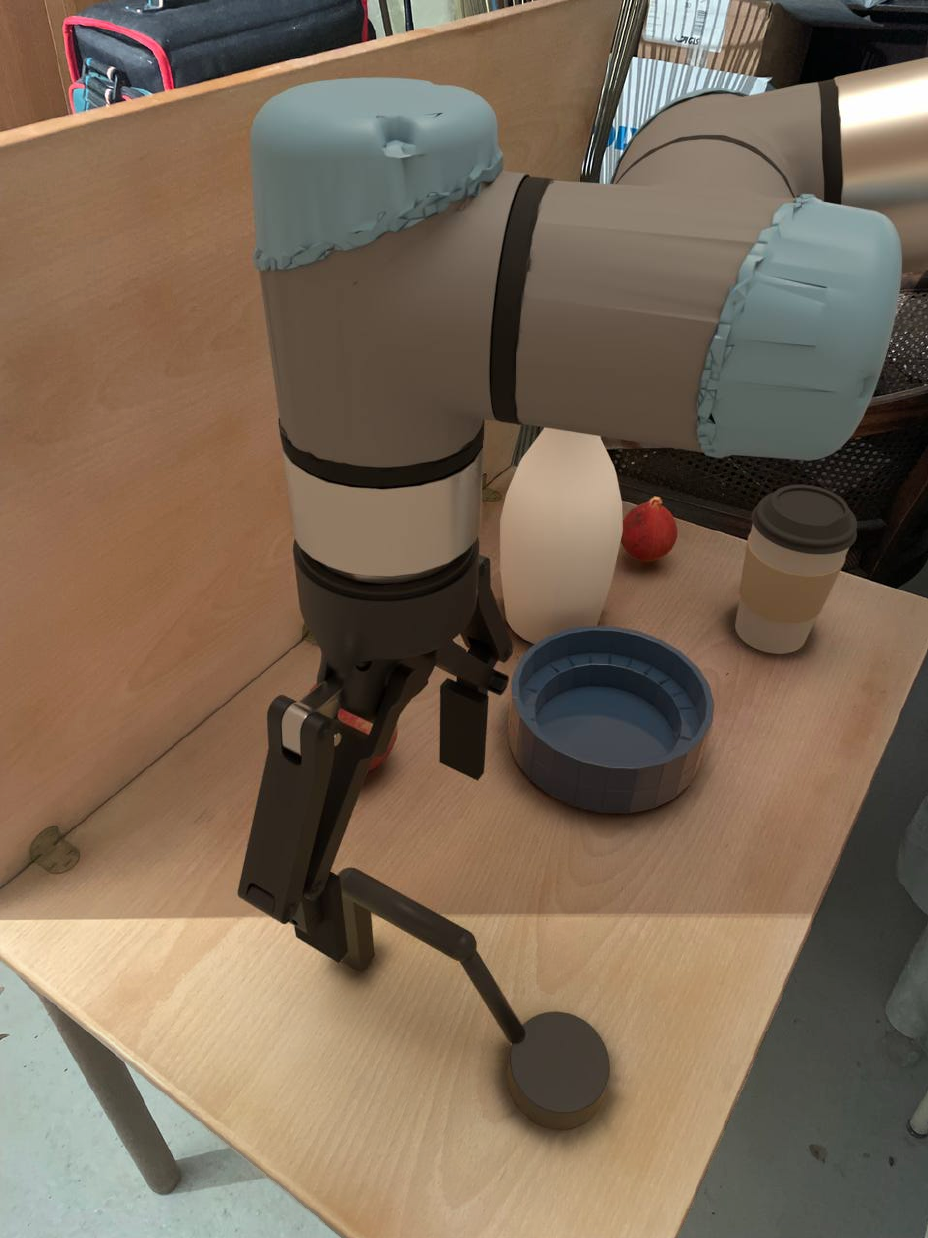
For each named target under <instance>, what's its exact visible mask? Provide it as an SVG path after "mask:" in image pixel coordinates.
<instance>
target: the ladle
mask: <svg viewBox="0 0 928 1238" xmlns="http://www.w3.org/2000/svg"><path fill="white" fill-rule="evenodd" d="M337 875H338V876H340V883H341V892H342V901H343V910H344V919H345V928H346V937H347V946H348V952H347V954H346V955H345V956H344V958H343V959H342V960H341V962H342V963H343V964H345V965H346V966H348V967H350V968H352V969H353V970H354V971H357V972H358V973H360V974H362V973H363V972H364V971H365V969H366V968H367V966H368V965H369V964H370V963H371V961H372V960H373V958H374V957H375V956H376V951H375V940H374V929H373V920H372V918H373V917H372V914H374V915H375V916H377V917H379V918H380V919H382V920H384V921H386V922H387V923H389V924H391V925H393V927H396V928H398V929H400V930H401V931H403V932H405V933H407V934H408V935H410V936H411V937H413V938H414V939H417V940H418V941H420V942H422V943H424V944H426V945H427V946H429V947H431V948H433V949H434V950H436V951H438V952H440V953H441V954H443V955H445V956H447V957H448V958H449V959H452V960H454V961H456V962H459V964H460V966H461V967H462V969H463V971H464V972H465V973H466V975H467V977H468V979H469V980H470V981H471V983H472V985H473V986H474V988H475V990H476V991H477V993H478V994H479V996H480V997H481V999H482V1001H483V1003H484V1004H485V1006H486V1007H487V1009H488V1011H489V1012H490V1014H491V1015H492V1017H493V1019H494V1020H495V1022H496V1024H497V1025H498V1027H499V1029H501V1032H502V1033H503V1035H504V1037H505V1038H506V1040H507V1041H508V1042H509V1043H510V1050H509V1056H508V1057H509V1058H508V1064H507V1065H508V1066H507V1082H508V1087H509V1091H510V1094H511V1096H512V1098H513V1100H514V1102H515V1104H516V1106H517V1107H518V1108H519V1110H521V1112H522V1113H523V1114H524V1115H525V1116H526V1117H527V1118H529V1119H530V1120H531V1121H533V1122H535V1123H536V1124H538V1125H539V1126H543V1127H546V1128H549V1129H555V1130H567V1129H568V1130H569V1129H572V1128H576V1127H578V1126H580V1125H582V1124H584V1123H586V1122H588V1121H589V1120H590V1119H591V1118H592V1117H593V1116H594V1115H595V1114H596V1112H597V1111H598V1109H599V1108H600V1107H601V1104H602V1102H603V1099H604V1096H605V1093H606V1089H607V1086H608V1083H609V1078H610V1070H611V1065H610V1064H611V1063H610V1056H609V1052H608V1049H607V1046H606V1045H605V1042H604V1040H603V1038H602V1037H601V1035H600V1034H599V1032H597V1030H596V1029H595V1028H594V1027H593V1026H592V1025H591V1024H590V1023H588V1022H587V1021H586V1020H584V1019H583V1018H581V1017H579V1016H577V1015H574V1014H572V1013H568V1012H564V1011H547V1012H543V1013H539V1014H536V1015H535V1016H533V1017H531V1018H529V1019H528V1020H527V1021H525V1022H524V1023H523V1024H522V1023H521V1021H520V1019H519V1018H518V1016H517V1014H516V1013H515V1011H514V1009H513V1008H512V1006H511V1004H510V1003H509V1001H508V1000H507V998H506V997H505V994H504V993H503V991H502V989H501V988H500V986H499V984H498V983H497V981H496V979H495V978H494V976H493V975H492V973H491V972H490V970H489V968H488V966H487V964H486V963H485V961H484V960H483V958H482V956H481V955H480V953H479V951H478V950H477V949H478V942H477V939H476V936H475V935H474V934H473V933H472V932H471V931H470V930H468V929H467V928H464V927H463V926H461V925H459V924H458V923H456V922H454V921H452V920H450V919H448V918H447V917H444V916H443V915H441V914H440V913H438V912H436V911H434V910H432V909H430V908H428V907H427V906H425V905H423V904H421V903H419V902H418V901H416V900H414V899H413V898H410V897H409V896H407V895H405V894H403V893H401V892H400V891H398V890H396V889H394V888H393V887H391V886H389V885H387V884H385V883H383V882H381V881H379V879H376V878H375V877H373V876H371V875H369V874H367V873H365V871H362V870H360V869H358V868H356V867H353V866H351V867H350V866H349V867H345V868H343V869H342V870H341V871H339V873H338V874H337Z"/></svg>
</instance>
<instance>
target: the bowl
mask: <svg viewBox="0 0 928 1238" xmlns="http://www.w3.org/2000/svg"><path fill="white" fill-rule="evenodd" d="M714 708H715V701H714V697H713V693H712V690H711V687H710V683H709V682H708V681H707V679H706V677H705V676H704V674H703V673H702V671H701V670H700V668H699V667H698V666H697V665H696V663H694V662H693V661H692V660H691V659H690V658H689V657H688V656H687V655H686V654H685V653H683V652H682V650H679V649H677V648H676V647H674V646H673V645H671V644H670V643H667V642H666V641H664V640H663V639H660V638H658V637H655V636H653V635H650V634H647V633H645V632H642V631H639V630H635V629H630V628H626V627H625V628H624V627H621V626H620V627H619V626H616V625H615V626H613V625H607V626H606V625H597V626H585V627H578V628H572V629H567V630H564V631H561V632H558V633H556V634H553V635H550V636H547V637H545V638H544V639H542V640H541V641H539V642H538V643H536V644H532V646H530V647H529V648H528V650H526V651H525V653H524V655H522V657H521V658H519V661H518V662H517V664H516V666H515V668H514V672H513V674H512V678H511V683H510V698H509V709H508V711H509V712H508V723H507V724H508V726H507V727H508V744H509V746H510V747H509V748H510V749H511V752H512V755H513V757H514V759H515V762H516V764H517V765H518V766H519V768H520V769H521V770H522V771H523V773H524V774H525V775H526V777H527V778H528V779H529V780H530V781H531V782H532V783H534V784H535V785H536V786H537V787H539V788H540V789H541V790H543V791H544V792H545V793H547V794H548V795H549V796H551V797H553V798H555V799H557V800H559V801H561V802H563V803H566V804H568V805H570V806H572V807H575V808H580V809H584V810H588V811H593V812H597V813H602V814H632V813H637V812H642V811H647V810H648V811H649V810H652V809H655V808H658V807H659V806H661V805H664V804H666V803H668V802H669V801H672V800H674V799H675V798H676V797H678V796H679V795H680V794H681V793H682V792H683V791H684V790H685V789H687V787H689V785H691V784H692V782H693V781H694V778H695V777H696V775H697V772H698V770H699V769H700V767H701V764H702V760H703V756H704V752H705V749H706V745H707V742H708V738H709V734H710V732H711V728H712V724H713V721H714V720H713V719H714Z"/></svg>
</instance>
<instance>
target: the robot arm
mask: <svg viewBox="0 0 928 1238" xmlns="http://www.w3.org/2000/svg"><path fill="white" fill-rule="evenodd" d="M498 130H499V129H498V119H497V116H496V112H495V111H494V110H493V107H492V106H491V105H490V103H489V101H487V100H486V99H485V98H483V96H481V95H480V94H478V93H476V92H474V91H472V90H469V89H467V88H464V87H461V86H456V85H451V84H447V85H446V84H444V85H440V84H435V83H433V82H432V81H429V80H423V79H417V78H403V77H379V76H378V77H351V78H350V77H349V78H334V79H327V80H317V81H313V82H308V83H302V84H299V85H296V86H292V87H290V88H288V89H286V90H284V91H282V92H279V93H278V94H276V95H274V96H272V97H270V98H269V99H268V100H267V101H265V103H264V104H262V107H261V108H260V110H259V111H258V112H257V114H256V115H255V117H254V118H253V122H252V125H251V129H250V135H249V155H250V170H251V172H250V173H251V189H252V207H253V223H254V240H255V247H254V248H253V252H252V255H251V257H252V261H253V267H254V268H255V269H256V270H258V275H259V281H260V289H261V295H262V302H263V309H264V316H265V322H266V323H265V325H266V332H267V337H268V338H267V340H268V345H269V352H270V361H271V367H272V375H273V382H274V388H275V397H276V404H277V411H278V430H279V437H280V442H281V446H282V448H281V449H282V451H281V452H282V459H283V468H284V475H285V483H286V493H287V501H288V509H289V518H290V519H289V520H290V527H291V535H292V536H293V538H294V539H293V542H292V543H293V544H292V555H293V556H292V557H293V563H294V572H295V581H296V589H297V596H298V604H299V605H298V606H299V611H300V613H301V617H302V619H303V621H304V623H305V625H306V626H307V628H308V630H309V631H310V633H311V635H312V636H313V638H314V640H315V641H316V643H317V646H318V647H319V649H320V653H321V655H320V663H319V667H318V671H317V674H316V684H317V687H316V688H315V689H313V690H312V691H311V692H310V691H309V692H310V693H309V692H308V693H309V694H308V693H307V694H306V695H305V696H303V697H302V698H301V699H300V700H298V701H297V700H295V699H293V698H291V697H288V696H286V695H284V694H279V695H278V696H276V697H275V698H274V699H273V700H272V701H271V703H270V705H269V707H268V709H267V711H266V712H267V713H266V725H267V726H266V727H267V728H266V729H267V744H268V749H267V753H266V758H265V761H264V762H265V763H264V768H263V773H262V776H261V780H260V781H261V782H260V786H259V790H258V794H257V799H256V805H255V809H254V813H253V814H254V815H253V818H252V823H251V828H250V833H249V837H248V841H247V846H246V849H245V855H244V860H243V865H242V869H241V874H240V879H239V883H238V887H237V896H238V898H240V899H241V900H243V901H244V902H246V903H247V904H249V905H251V906H253V907H254V908H256V909H257V910H258V911H261V912H262V913H264V914H265V915H267V916H269V917H271V918H272V919H274V920H275V921H277V922H278V923H280V924H282V925H287V924H291V925H292V926H293V927H294V933H295V938H297V939H298V940H300V941H301V942H303V943H304V944H306V945H308V946H310V947H311V948H313V949H314V950H316V951H318V952H319V953H321V954H323V955H324V956H326V957H327V958H329V959H331V961H334V962H336V963H338V964H340V963H341V962H342V959H343V958H344V956H345V955H346V954H347V952H348V946H347V937H346V928H345V919H344V910H343V901H342V892H341V883H340V876H338V874H337V873H334V872H333V871H332V869H333V866H334V864H335V860H336V858H337V855H338V853H339V850H340V846H341V844H342V842H343V839H344V836H345V833H346V831H347V828H348V826H349V823H350V820H351V818H352V815H353V812H354V810H355V807H356V804H357V801H358V799H359V796H360V793H361V791H362V788H363V785H364V783H365V780H366V777H367V774H368V772H369V771H370V770H369V767H370V764H371V762H372V760H373V759H374V758H376V757H380V756H382V755H384V754H385V752H386V751H387V748H388V746H389V743H390V740H391V738H392V735H393V732H394V730H395V727H396V724H397V725H398V721H399V719H400V717H401V714H402V713H403V711H404V710H405V708H406V707H407V706H408V704H410V703H411V701H412V700H413V699H414V698H415V697H416V696H418V695H419V694H420V693H421V692H422V691H423V690H424V689H425V688H426V687H427V686H428V684H429V679H430V677H431V676H432V674H433V672H434V669H435V668H438V669H440V670H442V671H444V672H445V673H448V674H449V675H451V676H454V677H455V678H456V679H455V680H453V679H451V678H449V677H446V679H444V681H443V682H442V683H441V684H440V685H439V690H440V691H439V750H438V751H439V754H438V755H439V759H438V760H439V761H438V763H440V764H441V765H444V766H446V767H448V768H450V769H452V770H455V771H457V772H458V773H460V774H463V775H465V776H466V777H468V778H471V779H473V780H475V781H477V782H479V780H480V779H481V778H482V776H483V775H484V773H485V767H486V765H485V764H486V763H485V762H486V747H487V732H488V731H487V730H488V714H489V698H490V696H489V692H490V693H493V694H495V695H497V696H502V695H503V694H504V693H505V691H506V689H507V687H508V684H509V680H510V676H509V675H508V674H506V673H503V672H501V671H498V670H496V669H495V667H496V665H497V663H498V662H501V663H503V664H506V663H507V662H508V660H509V659H510V658H511V656H512V654H513V653H514V652H513V651H514V644H513V642H512V639H511V636H510V633H509V631H508V628H507V625H506V623H505V620H504V618H503V615H502V613H501V610H500V607H499V605H498V603H497V600H496V596H495V594H494V592H493V589H492V584H491V581H492V580H491V579H492V578H491V559H490V558H489V557H488V556H484V555H482V554H480V539H479V534H480V532H481V531H482V514H483V513H482V512H483V508H482V507H483V469H484V468H483V466H484V465H483V464H484V461H483V460H484V441H485V420H487V421H495V422H500V423H505V424H511V425H517V426H520V425H527V426H535V427H540V428H544V427H546V428H552V429H558V430H564V431H571V432H577V433H583V434H590V435H596V436H600V437H601V438H603V437H604V438H608V439H609V438H610V439H616V440H621V441H627V442H633V443H640V444H647V445H652V446H659V447H666V448H670V449H671V448H672V449H678V450H683V451H689V452H698V453H702V454H704V455H705V456H708V457H711V458H716V459H723V458H725V457H727V458H728V457H730V456H743V457H757V458H772V459H783V460H784V459H786V460H798V461H815V460H816V461H817V460H820V459H823V458H827V457H828V456H831V455H833V454H835V453H836V452H838V450H840V449H841V448H842V447H843V446H844V445H845V444H846V443H847V442H848V441H849V440H850V439H851V438H852V436H853V434H855V432H856V430H857V428H858V427H859V425H860V423H861V422H862V420H863V418H864V416H865V413H866V411H867V409H868V407H869V405H870V403H871V401H872V398H873V396H874V393H875V390H876V388H877V385H878V381H879V379H880V376H881V373H882V371H883V367H884V363H885V360H886V357H887V354H888V349H889V347H890V343H891V339H892V334H893V330H894V325H895V322H896V321H895V320H896V317H897V316H896V315H897V312H898V311H897V310H898V305H899V301H900V292H901V284H902V283H901V282H902V274H908V273H915V272H922V271H927V270H928V56H927V57H923V58H918V59H913V60H909V61H904V62H899V63H894V64H890V65H886V66H881V67H876V68H872V69H867V70H861V71H857V72H853V73H852V72H851V73H848V74H845V75H839V76H835V77H834V78H831V79H827V80H822V81H815V82H809V83H802V84H795V85H792V86H786V87H783V88H777V89H773V90H768V91H764V92H759V93H755V94H746V93H744V92H743V91H742V90H735V89H730V88H727V87H706V88H700V89H695V90H692V91H690V92H686V93H684V94H681V95H679V96H676V97H675V98H673V99H672V100H670V101H668V102H667V103H665V104H664V105H663V106H661V107H660V108H659V109H658V110H657V111H656V112H655V113H653V114H652V115H651V116H648V117H647V118H646V120H645V121H643V123H641V125H640V126H639V127H638V129H637V130H636V131H635V132H634V133H633V135H632V136H631V138H630V139H629V141H628V142H627V143H626V145H625V147H624V148H623V151H621V152H622V153H621V155H620V156H619V158H618V159H617V161H616V162H615V167H614V172H613V174H612V176H611V179H610V180H609V183H600V182H599V183H598V182H585V181H583V182H582V181H570V180H556V179H555V178H550V177H542V176H541V177H540V176H531V175H530V174H529V173H528V172H527V173H526V172H525V173H524V172H516V171H515V172H513V171H508V170H503V168H504V154H503V151H502V150H501V149H500V147H499V138H498V137H499V134H498V133H499V131H498ZM459 635H460V637H461V639H462V641H463V644H464V645H465V647H466V648H467V649H466V648H464V647H463V646H461V645H460V644H458V643H456V642H455V641H454V640H455V639H456V638H457V637H458V636H459ZM340 709H343V710H345V711H347V712H349V713H351V714H353V715H355V716H357V717H359V718H361V719H363V720H365V721H368V722H370V723H372V724H373V726H372V728H371V731H370V734H369V735H368V734H366V733H364V732H362V731H360V730H358V729H356V728H354V727H352V726H350V725H348V724H345V723H343V722H341V721H340V720H339V718H338V711H339V710H340ZM368 770H369V771H368Z"/></svg>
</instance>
